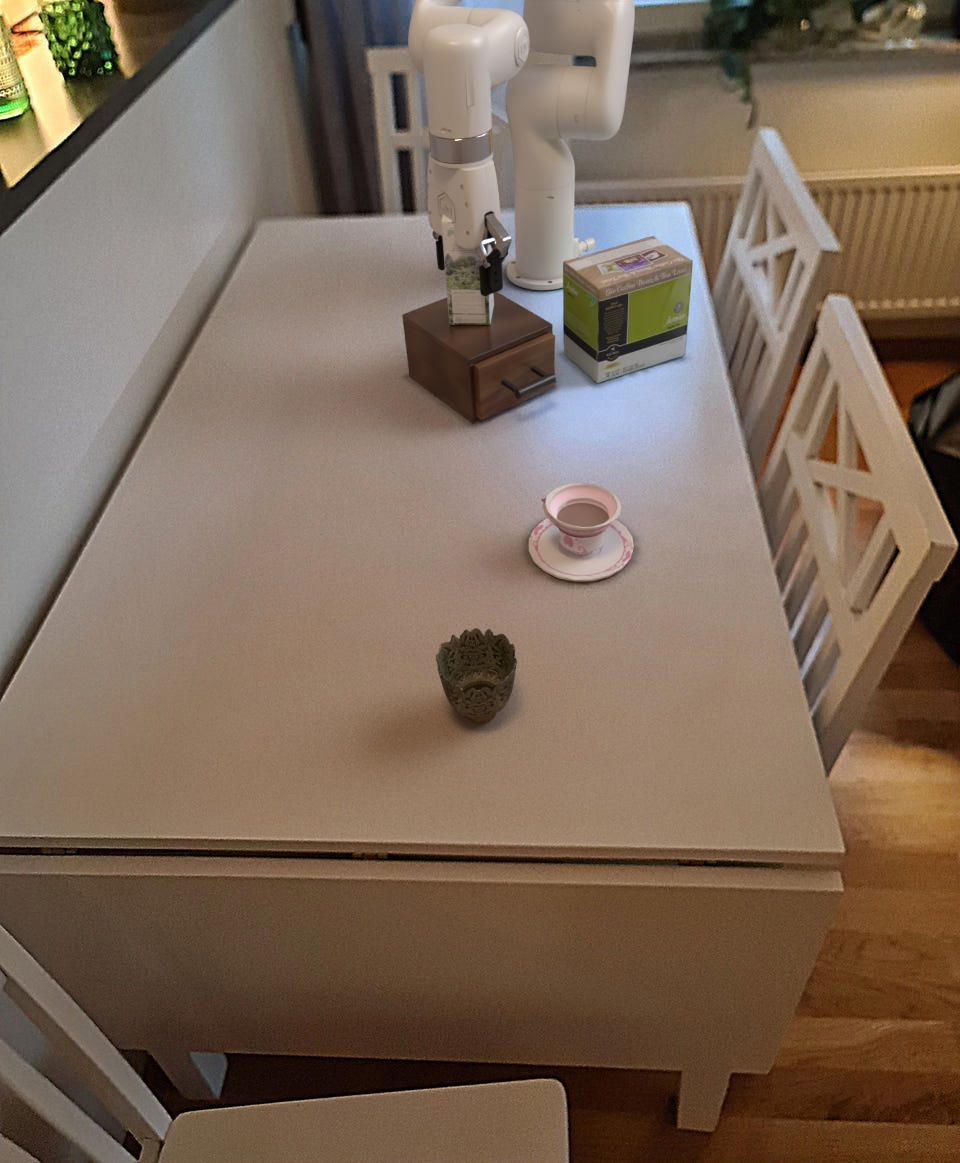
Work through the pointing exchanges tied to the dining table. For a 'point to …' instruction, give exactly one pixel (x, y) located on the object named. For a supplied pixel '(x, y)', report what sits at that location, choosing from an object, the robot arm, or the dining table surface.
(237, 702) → the dining table surface
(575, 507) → the teacup
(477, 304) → the syrup box
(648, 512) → the dining table surface
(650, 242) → the tea box
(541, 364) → the drawer
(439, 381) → the cabinet
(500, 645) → the cup
